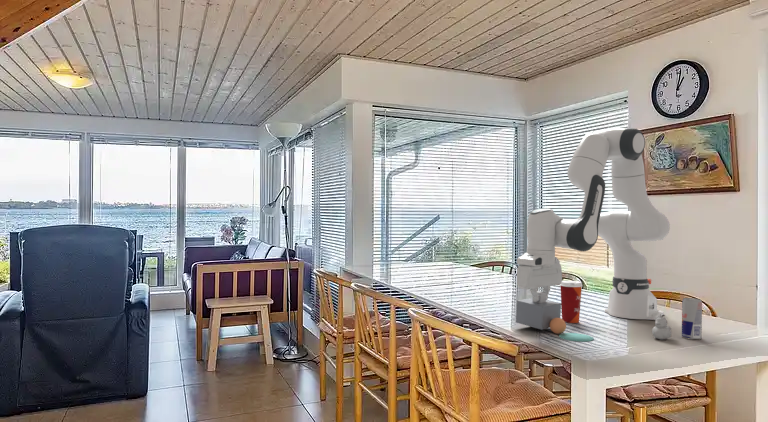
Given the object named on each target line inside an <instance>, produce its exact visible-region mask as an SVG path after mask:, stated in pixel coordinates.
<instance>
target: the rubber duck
mask: <svg viewBox="0 0 768 422" xmlns="http://www.w3.org/2000/svg"><path fill="white" fill-rule="evenodd" d="M654 321H655V322H654V323H655V324H654V325H655V326H652V327H653V328H651V333H652V336H653V338H655V339H656V340H661V341H664V340H667V339H669V338H671V337H672V331H671V330H672V326H670V325H668V320H667V319H666V318H665V316H664V315H662V316H661V314H660V316H658V318H657V319H656V320H654Z"/></svg>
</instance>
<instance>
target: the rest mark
mask: <svg viewBox="0 0 768 422" xmlns="http://www.w3.org/2000/svg"><path fill="white" fill-rule="evenodd" d="M558 337H559V338H561V339H563V340H566V341H571V342H585V343H586V342H591V341H594V339H595V338H594V337H593V336H592V335H589V334H585V333H584V334H583V333H579V332H578V333H577V332H563V333H561V334H558Z"/></svg>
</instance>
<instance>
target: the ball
mask: <svg viewBox="0 0 768 422" xmlns="http://www.w3.org/2000/svg"><path fill="white" fill-rule="evenodd" d="M566 323H567V322H565V321H564V320H563V319H562V317H560V318H554V319H552V320H551V322H550V328H549V329H550V331H551V332H552V333H554V334H557V335H560V334H563V333H565V330H566V329H567V324H566Z"/></svg>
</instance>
